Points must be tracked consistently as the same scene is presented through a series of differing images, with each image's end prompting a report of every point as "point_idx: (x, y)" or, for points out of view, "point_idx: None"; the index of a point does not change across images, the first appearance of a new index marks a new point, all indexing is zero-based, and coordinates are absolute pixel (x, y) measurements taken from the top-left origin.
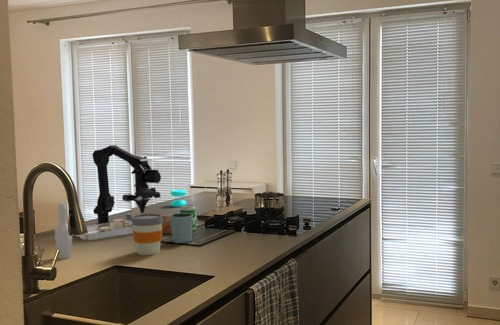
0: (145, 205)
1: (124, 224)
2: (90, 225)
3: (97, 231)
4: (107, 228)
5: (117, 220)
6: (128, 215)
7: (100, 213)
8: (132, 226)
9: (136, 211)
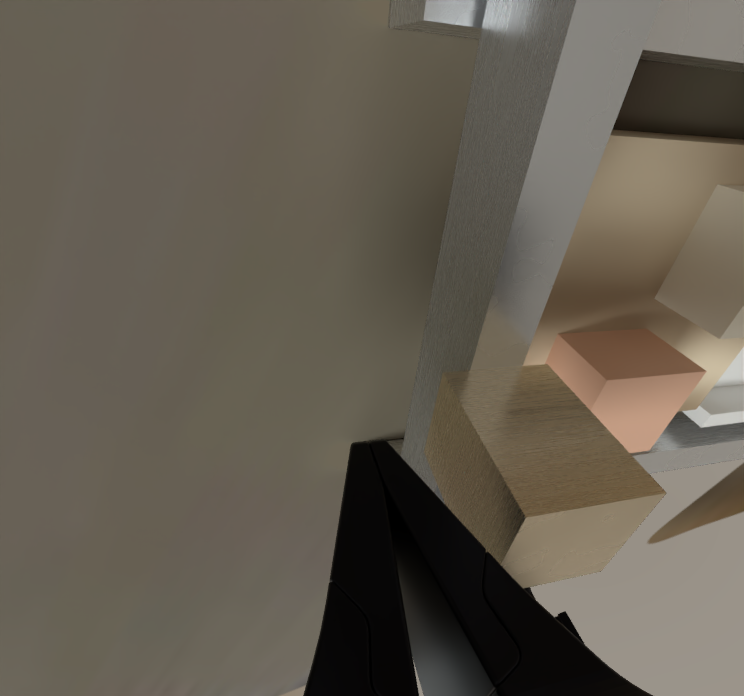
0: (337, 617)
1: (575, 343)
2: (724, 452)
3: None
4: None
5: (660, 403)
6: None
7: (569, 621)
8: None
9: (563, 436)
